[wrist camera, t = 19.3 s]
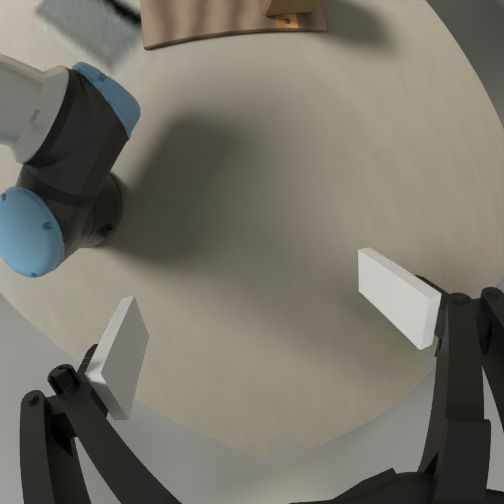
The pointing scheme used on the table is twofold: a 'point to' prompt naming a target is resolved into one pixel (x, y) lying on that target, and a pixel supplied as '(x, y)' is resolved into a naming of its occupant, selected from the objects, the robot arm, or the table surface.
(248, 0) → the floor board
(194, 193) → the table surface
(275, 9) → the wooden block
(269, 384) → the table surface
